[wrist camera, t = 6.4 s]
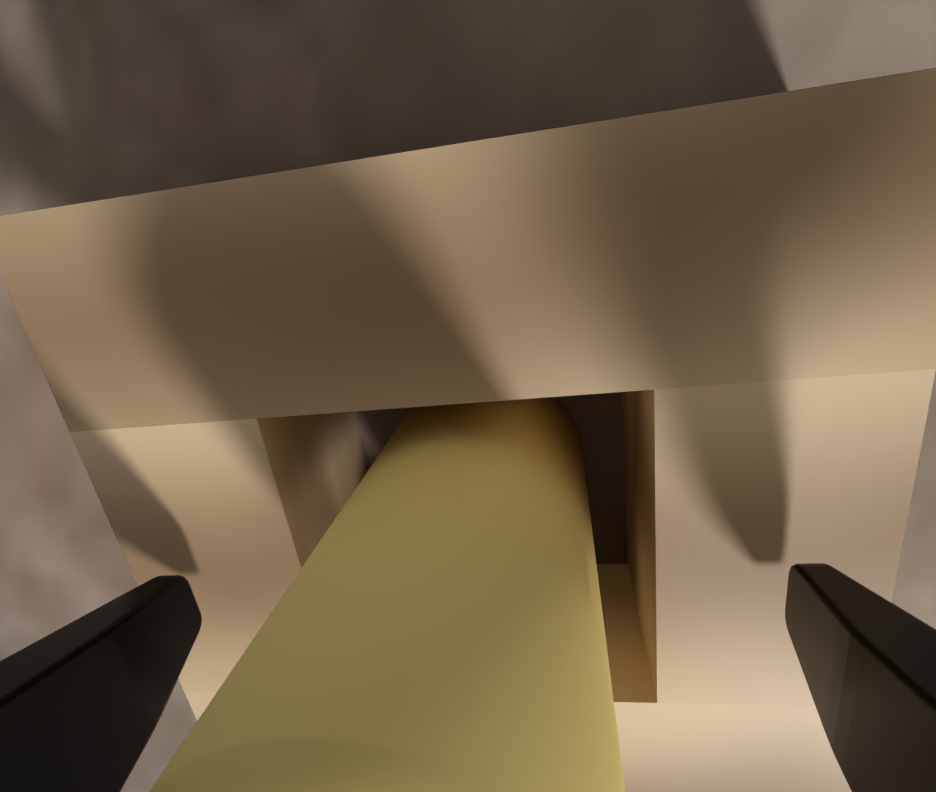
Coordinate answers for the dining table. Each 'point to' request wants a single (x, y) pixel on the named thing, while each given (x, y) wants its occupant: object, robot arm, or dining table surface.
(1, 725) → the robot arm
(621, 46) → the dining table surface
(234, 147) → the dining table surface
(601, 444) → the bore block
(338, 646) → the peg
